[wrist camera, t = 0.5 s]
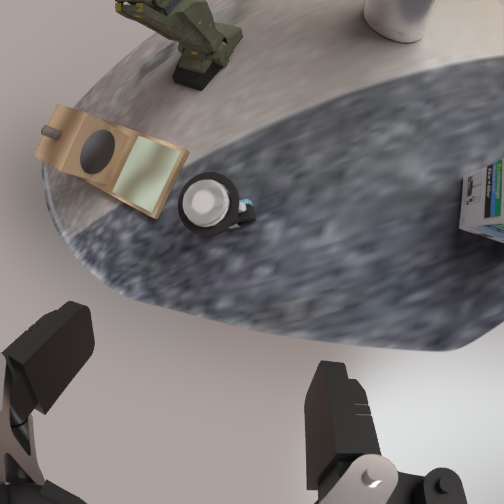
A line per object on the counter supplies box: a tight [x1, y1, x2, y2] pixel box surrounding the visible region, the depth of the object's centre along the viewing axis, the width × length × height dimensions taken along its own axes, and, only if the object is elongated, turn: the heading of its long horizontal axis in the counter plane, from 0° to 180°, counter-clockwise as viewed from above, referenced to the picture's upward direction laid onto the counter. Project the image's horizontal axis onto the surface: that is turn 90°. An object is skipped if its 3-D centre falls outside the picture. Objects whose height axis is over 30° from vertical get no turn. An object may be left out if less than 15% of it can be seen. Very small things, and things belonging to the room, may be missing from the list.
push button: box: [178, 172, 256, 236], centre depth 28 cm, size 7×5×10 cm
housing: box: [34, 104, 190, 219], centre depth 29 cm, size 16×9×12 cm, turn 64°
